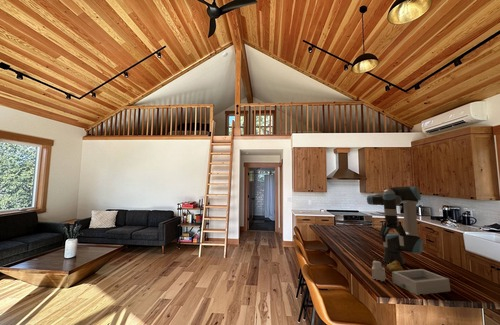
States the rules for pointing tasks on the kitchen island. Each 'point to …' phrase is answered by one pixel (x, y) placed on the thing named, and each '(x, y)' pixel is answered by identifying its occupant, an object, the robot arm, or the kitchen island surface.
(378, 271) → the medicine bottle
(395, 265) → the bread roll
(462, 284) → the kitchen island surface
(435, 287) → the grey rectangular tray
